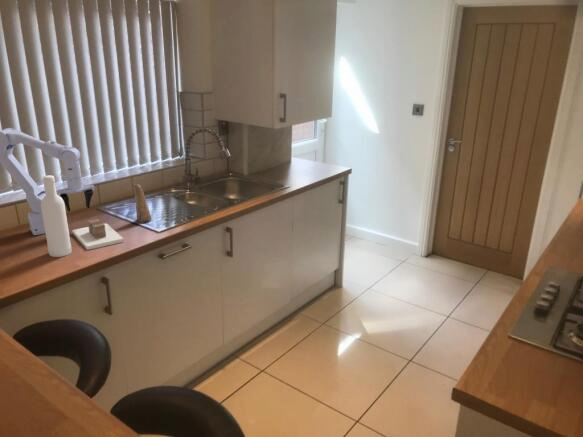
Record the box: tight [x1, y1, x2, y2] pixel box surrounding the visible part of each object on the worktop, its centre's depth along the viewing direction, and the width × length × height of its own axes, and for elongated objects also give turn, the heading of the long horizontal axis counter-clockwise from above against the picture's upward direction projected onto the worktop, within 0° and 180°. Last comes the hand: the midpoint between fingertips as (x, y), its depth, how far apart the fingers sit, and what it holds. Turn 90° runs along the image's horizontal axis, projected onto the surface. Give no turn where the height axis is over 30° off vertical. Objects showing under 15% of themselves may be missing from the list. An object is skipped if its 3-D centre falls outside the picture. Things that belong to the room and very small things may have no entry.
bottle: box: [41, 175, 73, 258], centre depth 174 cm, size 8×8×30 cm
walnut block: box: [87, 218, 106, 239], centre depth 192 cm, size 9×4×5 cm, turn 38°
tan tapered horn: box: [133, 183, 152, 223], centre depth 210 cm, size 6×18×6 cm
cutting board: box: [71, 223, 125, 251], centre depth 193 cm, size 14×21×2 cm, turn 38°
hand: (78, 209), depth 198 cm, fingers open, 7 cm apart
